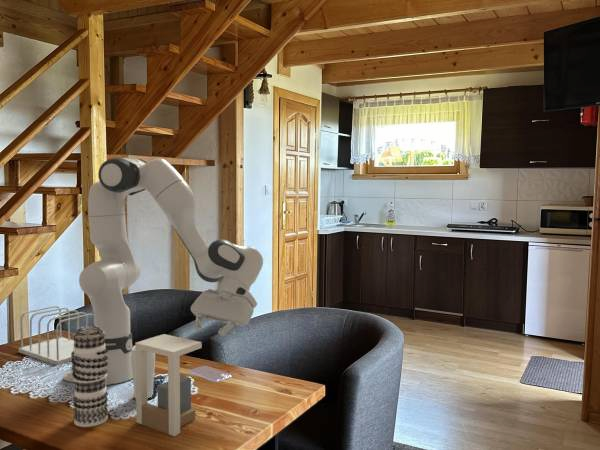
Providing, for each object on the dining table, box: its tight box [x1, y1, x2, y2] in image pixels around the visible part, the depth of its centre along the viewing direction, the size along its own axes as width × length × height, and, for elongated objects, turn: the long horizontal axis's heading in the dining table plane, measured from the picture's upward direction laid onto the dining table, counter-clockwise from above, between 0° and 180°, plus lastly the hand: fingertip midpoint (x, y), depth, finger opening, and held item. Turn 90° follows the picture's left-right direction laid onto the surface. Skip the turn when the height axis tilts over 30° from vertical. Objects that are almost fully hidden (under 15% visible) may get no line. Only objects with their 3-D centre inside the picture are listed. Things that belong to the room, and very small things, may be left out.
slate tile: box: [157, 375, 192, 414], centre depth 142 cm, size 9×3×10 cm, turn 147°
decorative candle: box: [71, 325, 109, 428], centre depth 141 cm, size 9×9×25 cm
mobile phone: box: [188, 365, 233, 383], centre depth 177 cm, size 8×1×15 cm
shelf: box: [134, 333, 203, 437], centre depth 141 cm, size 12×14×22 cm
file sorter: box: [18, 305, 94, 366], centre depth 198 cm, size 25×17×16 cm
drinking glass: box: [131, 345, 156, 400], centre depth 157 cm, size 7×7×15 cm
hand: (208, 331), depth 154 cm, fingers open, 8 cm apart
